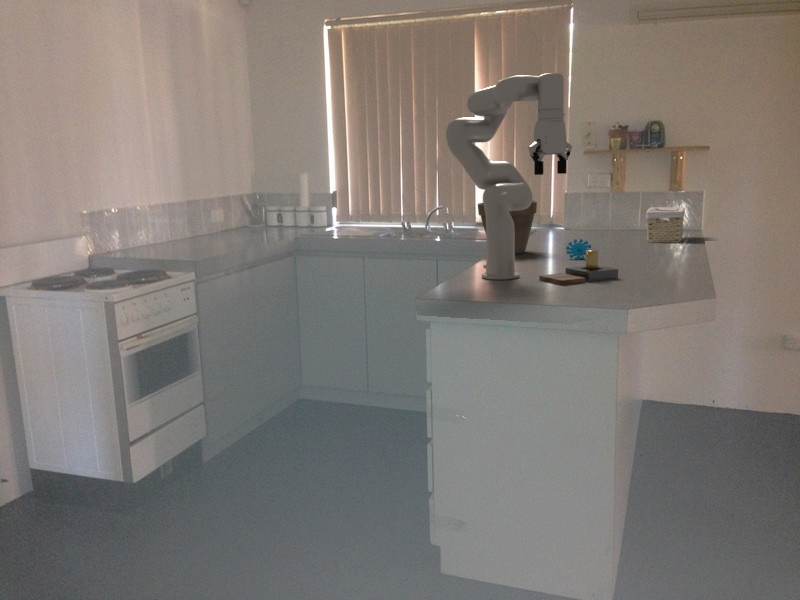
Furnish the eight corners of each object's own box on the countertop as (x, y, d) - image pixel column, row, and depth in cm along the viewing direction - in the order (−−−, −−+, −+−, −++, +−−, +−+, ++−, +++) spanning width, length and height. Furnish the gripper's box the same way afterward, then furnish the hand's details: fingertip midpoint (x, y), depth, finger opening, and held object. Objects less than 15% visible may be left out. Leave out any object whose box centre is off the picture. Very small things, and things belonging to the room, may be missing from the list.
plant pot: (473, 256, 301) (472, 204, 297) (483, 248, 325) (483, 200, 321) (533, 256, 294) (533, 203, 290) (539, 249, 317) (539, 199, 313)
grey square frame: (565, 276, 241) (565, 268, 240) (593, 273, 246) (593, 264, 245) (588, 281, 230) (589, 272, 230) (618, 278, 235) (618, 269, 235)
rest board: (539, 280, 236) (539, 275, 236) (561, 277, 240) (561, 273, 239) (562, 285, 225) (562, 280, 225) (584, 282, 229) (585, 277, 229)
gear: (563, 255, 281) (568, 236, 285) (563, 264, 285) (569, 245, 290) (592, 260, 277) (597, 240, 282) (591, 269, 282) (596, 249, 286)
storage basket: (682, 243, 322) (683, 210, 319) (644, 242, 328) (645, 210, 326) (684, 237, 343) (685, 206, 341) (648, 237, 350) (649, 207, 347)
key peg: (582, 277, 239) (583, 250, 237) (592, 276, 241) (592, 249, 239) (590, 278, 236) (591, 251, 234) (600, 277, 237) (600, 250, 235)
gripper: (561, 117, 223) (561, 173, 226) (520, 117, 213) (520, 175, 217) (580, 115, 217) (579, 173, 220) (538, 115, 207) (538, 175, 210)
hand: (550, 174), depth 218 cm, fingers open, 9 cm apart
